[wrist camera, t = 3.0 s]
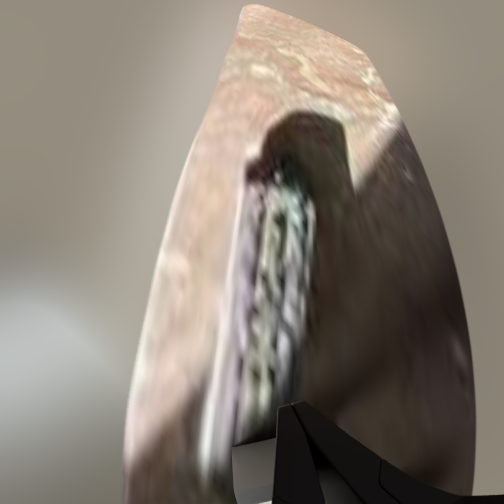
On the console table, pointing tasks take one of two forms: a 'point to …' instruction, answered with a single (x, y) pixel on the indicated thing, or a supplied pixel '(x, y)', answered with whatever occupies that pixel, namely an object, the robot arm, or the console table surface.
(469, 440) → the console table surface
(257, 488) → the white bracket
